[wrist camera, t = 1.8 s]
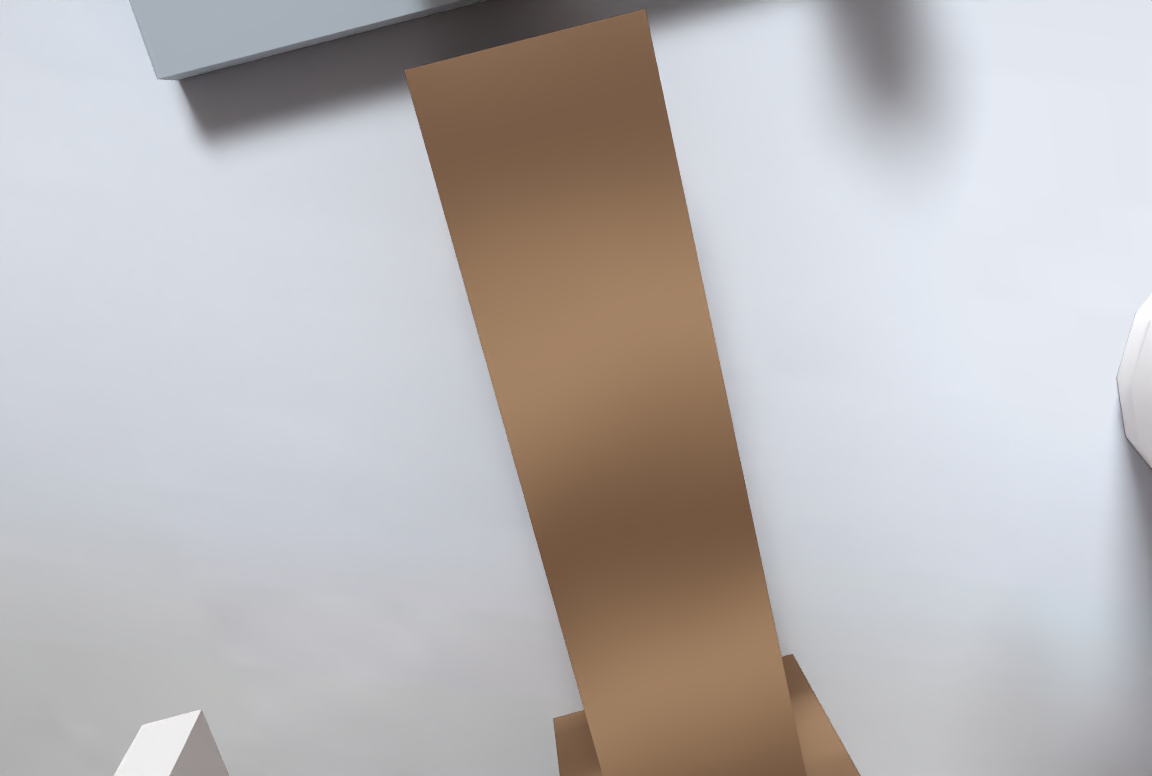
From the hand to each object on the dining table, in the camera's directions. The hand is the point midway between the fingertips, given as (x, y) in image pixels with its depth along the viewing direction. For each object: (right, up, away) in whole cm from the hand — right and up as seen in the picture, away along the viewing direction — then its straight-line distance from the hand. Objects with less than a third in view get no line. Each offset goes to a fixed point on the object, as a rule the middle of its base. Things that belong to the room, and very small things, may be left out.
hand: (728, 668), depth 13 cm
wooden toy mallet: (-1, +2, +8) cm, 9 cm away
